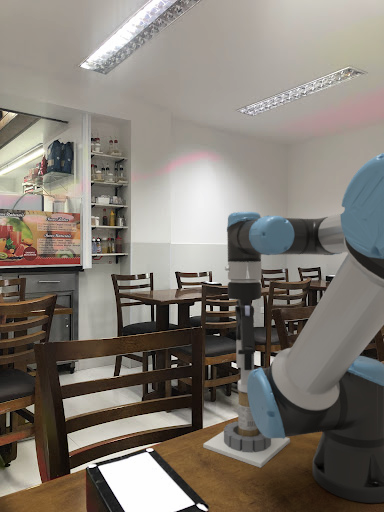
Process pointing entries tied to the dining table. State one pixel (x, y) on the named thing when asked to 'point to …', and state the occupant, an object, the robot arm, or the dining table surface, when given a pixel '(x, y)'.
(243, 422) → the sprinkles bottle
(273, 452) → the socket board
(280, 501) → the dining table surface
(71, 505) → the dining table surface
